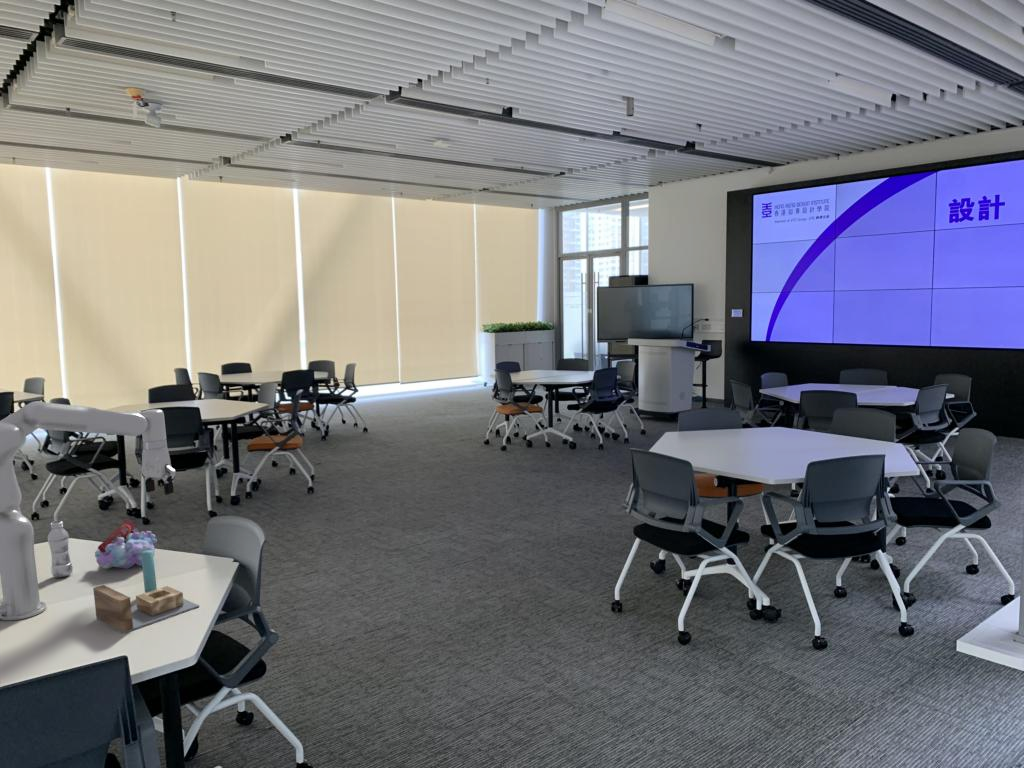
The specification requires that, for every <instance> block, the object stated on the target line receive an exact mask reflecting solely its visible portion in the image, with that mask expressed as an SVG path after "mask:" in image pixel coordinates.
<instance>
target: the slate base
mask: <svg viewBox="0 0 1024 768" xmlns="http://www.w3.org/2000/svg"><path fill="white" fill-rule="evenodd" d="M183 603H184V605H182V606H179V607H176V608H173V609H170V610H167V611H164V612H161V613H159V614H156V615H153V616H152V615H150V614H148V613H145V612H143V611H141V610H139V609H137V604H134V605H131V612H132V622H133V629H131V630H128V631H125V632H121V631H119V630H118V629H116V628H114V627H112V626H110V625H108V624H107V623H105V622H103V621H101V620H99V619H98V618H96V617H95V618H96V620H97V621H99V622H101V624H102V623H103V624H104V625H106V626H108V627H109V628H111V629H113V630H115V631H117V632H118V631H119V632H118V633H120V632H121V633H120V634H122V635H124V634H126V633H129V632H133V631H135V630H139V629H141V628H144V627H147V626H151V625H152V624H155V623H157V622H161V621H164V620H167V619H169V618H172V617H175V616H178V615H180V614H183V613H186V612H190V611H191V610H194V609H197V608H200V604H197V603H195V602H193V601H191V600H189V599H186V598H183ZM132 630H133V631H132Z"/></svg>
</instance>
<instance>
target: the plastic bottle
mask: <svg viewBox="0 0 1024 768" xmlns="http://www.w3.org/2000/svg"><path fill="white" fill-rule="evenodd" d="M50 529H51V530H50V531H49V533H48V535H47V541H48V545H49V549H50V553H51V568H50V572H51V575H52V576H53V577H54V578H64V577H68V576H70V575H71V574H72V573H73V568H74V567H73V563H72V562H71V557H70V551H69V539H70V538H69V533H68V532H67V530H66V529H65V528H64V521H63V520H54V521H52V522H50Z"/></svg>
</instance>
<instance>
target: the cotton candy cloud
mask: <svg viewBox="0 0 1024 768" xmlns="http://www.w3.org/2000/svg"><path fill="white" fill-rule="evenodd" d="M157 542H158V539H157V538H156V535H155V534H154V533H152V531H151V530H146V531H140V532H139V529H138V528H137V527H136V526H135V525H134V523H132V522H131V520H130V519H128V518H127V519H126V520H125V521H123V523H121V525H120V526H118V528H117V529H115V530H114V531H113V532H112V533H111V534H110V535H109V536H108V537H107V538H106V539H104V541H102V542H101V544H100V543H99V545H98V546H97V549H96V551H95V552H94V557H95V559H96V560H95V562H96V563H97V564H98V566H100V567H101V568H102V569H107V570H109V569H111V568H112V567H116V568H120V569H121V568H122V569H125V570H126V569H127V570H128V569H130V568H131V567H134V566H135V564H136V565H138V566H139V567H142V557H141V552H143V551H146V550H153V555H154V556H155V552H156V550H155V549H156V548H155V545H154V544H156V543H157Z"/></svg>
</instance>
